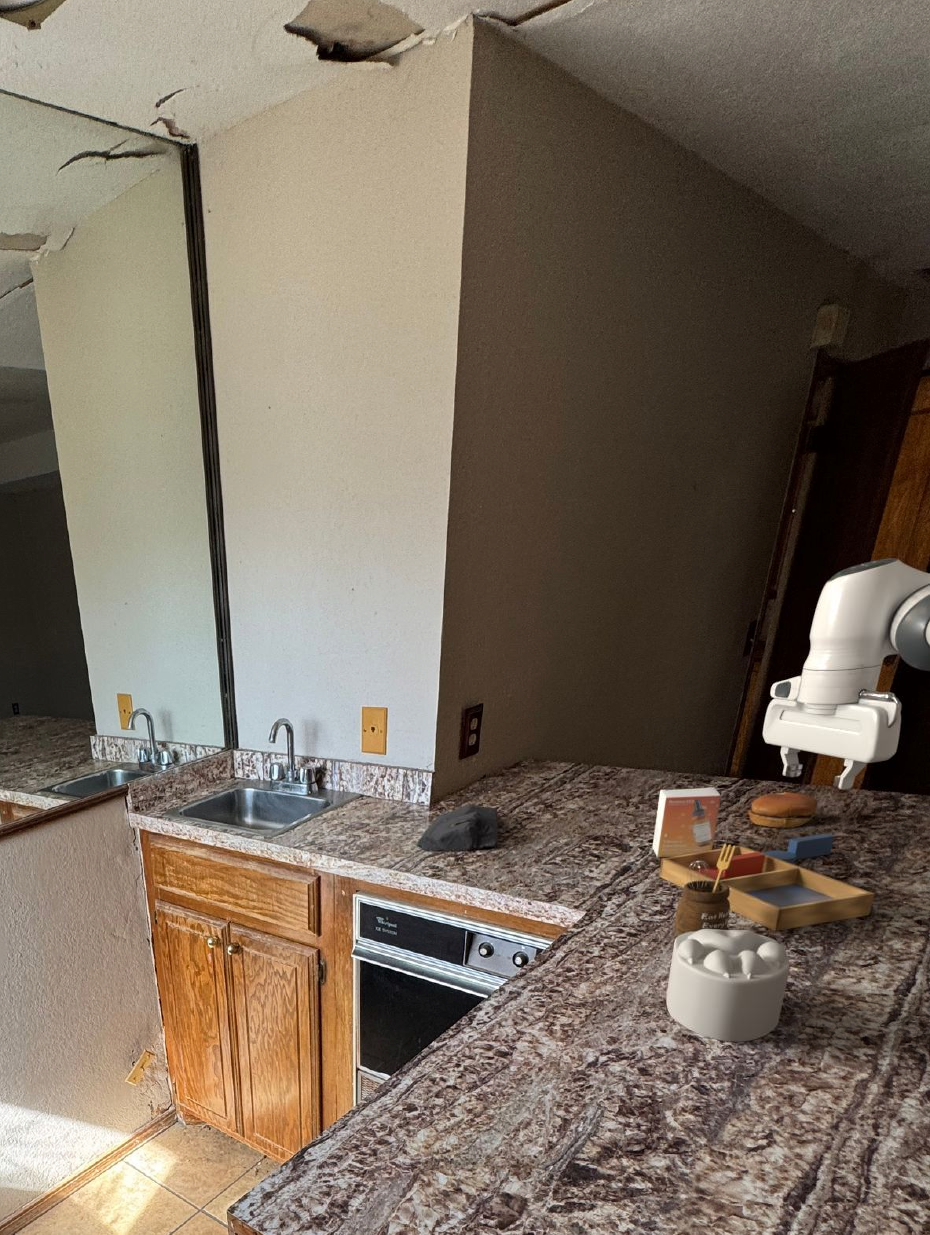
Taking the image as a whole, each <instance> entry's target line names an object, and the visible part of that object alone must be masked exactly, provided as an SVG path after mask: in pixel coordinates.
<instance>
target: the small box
mask: <svg viewBox="0 0 930 1235" xmlns="http://www.w3.org/2000/svg"><path fill="white" fill-rule="evenodd" d="M721 799H722V796H721V794H720V793H719V791H718V790H717V789H716V787H714V786H711V787H710V786H709V787H700V788H681V789H680V788H679V789H660V791H659V797H658V804H657V812H656V821H655V826H654V834H653V841H652V849H653V851H654V853H655V856H656V858H669V857H675V856H680V855H686V854H692V853H698V852H704V851H710V850H713V847H714V842H715V835H716V829H717V824H718V819H719V818H718V817H719V812H720V806H721V801H722V800H721Z"/></svg>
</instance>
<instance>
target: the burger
mask: <svg viewBox="0 0 930 1235" xmlns="http://www.w3.org/2000/svg"><path fill="white" fill-rule="evenodd" d="M817 808H818V801H817V800H816V798H815V797H813V796H811V795H808V794H802V793H794V792H788V791H784V792H772V793H767V794H764V795H761V796H759V797H757V798H756V799H755V800H754V801H753V802H752V804H751V808H750V809H748V811H747V815H748V817H749V820H750V821H751V823H753V824H755V825H758V826H760V827H761V826H762V827H770V828H777V829H778V828H779V829H793V828H798V827H801V826H803V825H804V824H806V823H807V822H809V821H810V820H812V819H813V818H814V817H815V815H816V812H817Z"/></svg>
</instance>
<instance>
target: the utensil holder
mask: <svg viewBox="0 0 930 1235" xmlns="http://www.w3.org/2000/svg"><path fill="white" fill-rule="evenodd" d="M736 846H737V845H733V846H732V844H728V845H727V843H724V844H723V846H722V848H723V849H722V848H721V849H722V852H721V855H720V857H719V860H718V863H717V867H718V868H719V869H720V871H719V874H718V877H717V880H716V881H707V870H706V880H701V881H700V868H699V881H693V882H689V881H688V883H687V884H685V886H684V888H682V891H681V894H682V896H681V897H680V898H679V900H678V903H677V907H676V912H675V919H674V934H675V935H676V936H677V937H678V936H680V935H682V934H684V933H688V932H697V931H699V930H702V929H718V930H728V923H729V918H730V911H731V910H730V902H729V900H728V899H727V898H728V897H729V895H730V890H729V886H727V885H726V884H724V883H721V882H720V879H721V876H722V873H723V871H724V870H726V869H728V868H729V867H730V864H731V861H732V857H733V854H734V851H735V848H736ZM731 847H733V848H732V851H731V854H730V857H729V859H728V862H727V858H728V855H729V852H730V848H731ZM726 848H728V849H727V851H726V854H725V857H724V860H723V861H722V858H723V855H724V852H725V849H726ZM695 862H698V863H699V862H700V863H701V862H702V861H694V863H695ZM692 864H693V862H692V863H691V865H692ZM702 864H703V863H702ZM706 864H707V863H706ZM691 865H690V866H689V867H691ZM703 865H704V866H705V862H704V864H703ZM694 866H695V865H694ZM705 868H706V867H705ZM688 869H689V868H688ZM692 870H693V869H692ZM708 870H709V867H708ZM704 878H705V874H704ZM708 879H709V876H708ZM690 880H691V881H692V878H690Z"/></svg>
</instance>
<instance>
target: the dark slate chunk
mask: <svg viewBox="0 0 930 1235" xmlns="http://www.w3.org/2000/svg"><path fill="white" fill-rule="evenodd" d="M498 815H499V812H498V810H497V808H495V807H486V806H480V805H476V804H469V805H466V806H462V807H459V808H457V809H454V810H451V811H448V812H444V813H441V814H439V815H438V816H436V818H435V819H434V820H433V821H432V823H431V824H430V826H429V827H427V828H426V829H425V830H424V832H423V834H422V835H421V837H420V838H419V839H418V841H417V843H416V845H415V846H416V847H418V848H420V849H422V851H424V852H426V851H430V852H437V851H444V852H468V851H473V850H482V849H486V848H489V849H490V848H493V847H495V846H497V844H498V840H499V827H500V826H499V824H500V823H499V820H498Z"/></svg>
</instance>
